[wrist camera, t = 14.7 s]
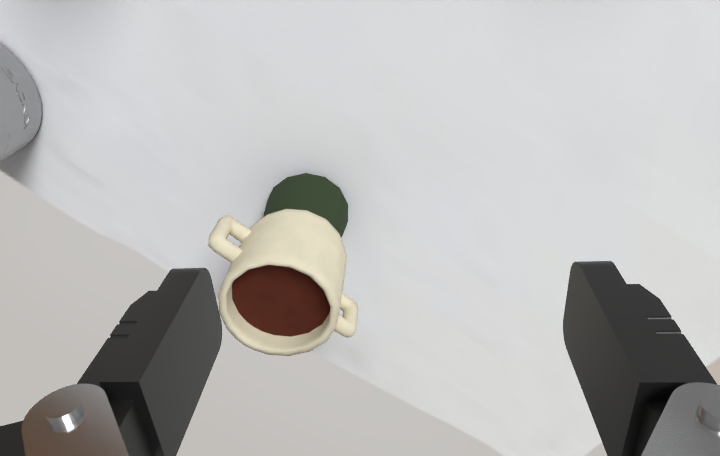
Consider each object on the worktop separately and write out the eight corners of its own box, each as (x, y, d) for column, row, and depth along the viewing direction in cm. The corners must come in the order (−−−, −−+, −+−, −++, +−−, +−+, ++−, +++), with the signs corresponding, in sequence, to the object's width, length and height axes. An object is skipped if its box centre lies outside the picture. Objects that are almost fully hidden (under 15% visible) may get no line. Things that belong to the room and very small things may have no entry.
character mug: (225, 197, 43) (165, 297, 32) (277, 129, 40) (230, 214, 29) (336, 273, 46) (316, 390, 35) (392, 216, 43) (390, 324, 32)
